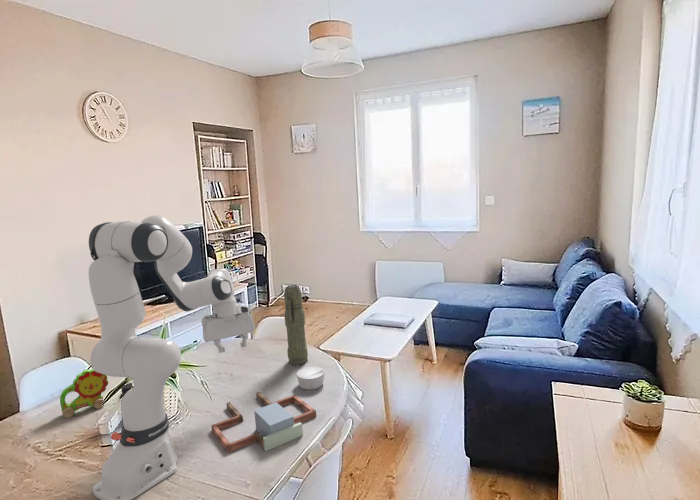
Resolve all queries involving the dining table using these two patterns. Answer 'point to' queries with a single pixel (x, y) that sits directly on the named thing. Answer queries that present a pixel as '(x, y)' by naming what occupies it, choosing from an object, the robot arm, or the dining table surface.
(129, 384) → the supplement bottle
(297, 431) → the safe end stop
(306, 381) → the ramekin
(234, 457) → the dining table surface
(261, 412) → the slate block
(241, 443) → the channel
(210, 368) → the dining table surface
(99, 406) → the toy lion
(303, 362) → the green carved statue
